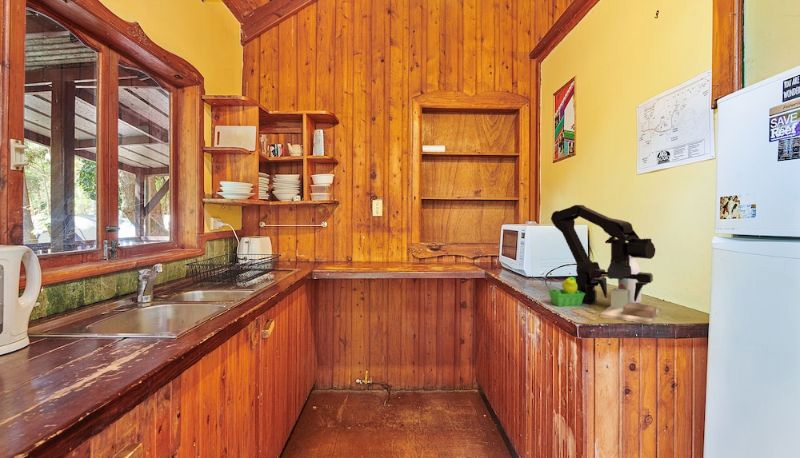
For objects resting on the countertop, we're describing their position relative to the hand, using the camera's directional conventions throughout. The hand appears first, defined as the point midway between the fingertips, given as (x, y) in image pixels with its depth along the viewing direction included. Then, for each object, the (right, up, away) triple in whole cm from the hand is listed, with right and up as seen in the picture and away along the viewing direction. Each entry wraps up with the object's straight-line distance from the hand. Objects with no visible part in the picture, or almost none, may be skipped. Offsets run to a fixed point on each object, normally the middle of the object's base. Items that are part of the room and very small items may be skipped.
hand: (620, 299), depth 128 cm
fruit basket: (-15, -4, +8) cm, 18 cm away
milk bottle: (+11, -3, +12) cm, 16 cm away
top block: (0, -3, 0) cm, 3 cm away
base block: (0, -3, -10) cm, 10 cm away
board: (0, -4, -6) cm, 7 cm away
